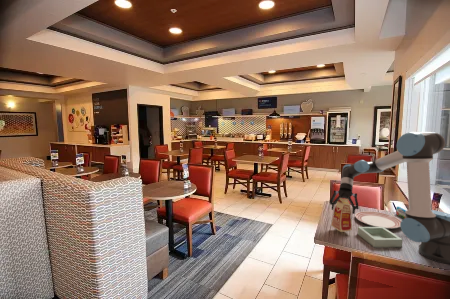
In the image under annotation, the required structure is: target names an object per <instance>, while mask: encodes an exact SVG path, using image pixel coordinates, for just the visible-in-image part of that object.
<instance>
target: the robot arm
mask: <svg viewBox="0 0 450 299" xmlns="http://www.w3.org/2000/svg"><path fill="white" fill-rule="evenodd" d="M445 146H446V140H445V138H444V137H443V136H442V135H441V134H440V133H438V132H436V131H435V132H434V131H411V132H406V133H404V134H402V135H401V136H400V137H399V138H398V139H397V142H396V151H393V152H391V153H389V154H387V155H384V156H382V157H379V158H377V159H375V160H372V161H366V160H364V159H360V160H358V161H356V162H354V163H353V164H345V165H344V166H342V170H341V178H340V184H339V189H338V190H335V189H334V190H333V193H332V196H331V198H330V200H329V205H331V210H332V217H333V216H334V212H335V207H336V204H337V201H338V200H340V198H342V199H348V202H349V204H350V208H351V216H350V218H351V219H352V220H353V214H354V215H355V214H356V210H359V208H360V207H359V202H358V201H359V200H358V193H356V192H355V193H354V192H353V186H354V179H355V177H357V176H360V175H361V174H362V175H363V174H375V173H376V174H378V173H381V172H384V171H385V170H387V169H390V168H393V167H396V166H397V165H398V166H399V165H401V164H403V163H406V174H407V175H406V177H407V178H406V179H407V195H408V197H407V198H408V209H407V210H406V212H405V216H406V218H404V219H403V218H402V220H401V224H400V226H401V227H400V230H401V231H402V234H404V235H405V237H406V238H407V239H409V240H410V241H412V242H416V243H420V244H419V245H418V252H419V254H421V256H423V257H425V258H427V259H429V260H432V261H434V262H436V263H441V264H445V265H450V213H447V212H443V211H440V210H434V209H432V193H431V179H430V178H431V176H430V162H431V161H432V160H434V155H435V154H439V153H440V152H442V151H443V149H444V148H445ZM337 195H338V196H337ZM336 196H337V197H336ZM352 196H353V197H354V201H353V200H352ZM354 202H355V203H354Z"/></svg>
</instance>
